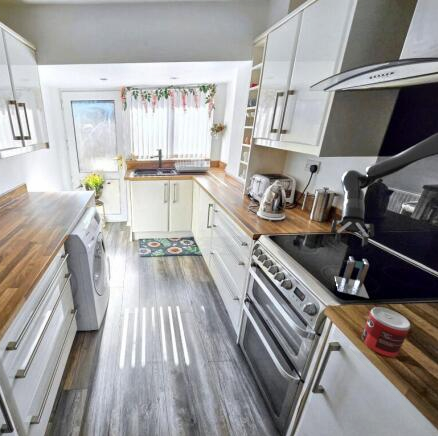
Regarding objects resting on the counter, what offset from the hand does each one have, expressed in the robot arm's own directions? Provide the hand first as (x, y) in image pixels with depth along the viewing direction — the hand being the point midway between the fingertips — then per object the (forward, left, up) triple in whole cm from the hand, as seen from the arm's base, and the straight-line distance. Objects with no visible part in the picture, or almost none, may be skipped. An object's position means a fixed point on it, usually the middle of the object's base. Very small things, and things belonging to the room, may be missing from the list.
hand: (350, 244), depth 102 cm
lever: (+5, +11, -4) cm, 13 cm away
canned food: (+17, +41, -12) cm, 46 cm away
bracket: (+7, +14, -12) cm, 20 cm away
